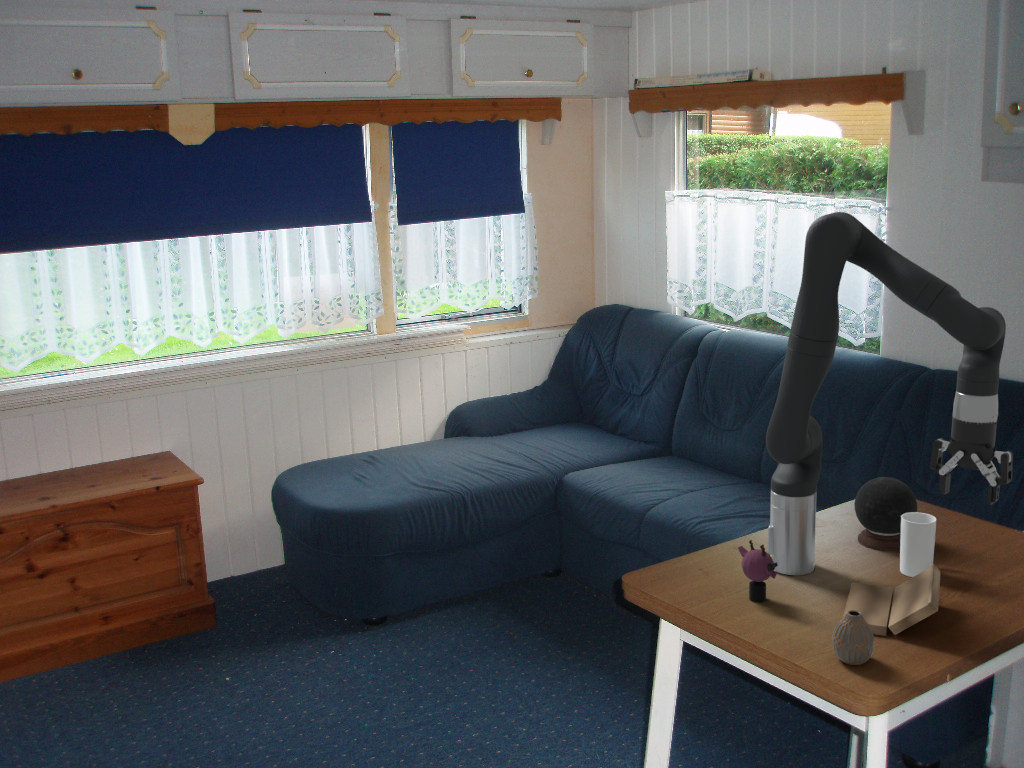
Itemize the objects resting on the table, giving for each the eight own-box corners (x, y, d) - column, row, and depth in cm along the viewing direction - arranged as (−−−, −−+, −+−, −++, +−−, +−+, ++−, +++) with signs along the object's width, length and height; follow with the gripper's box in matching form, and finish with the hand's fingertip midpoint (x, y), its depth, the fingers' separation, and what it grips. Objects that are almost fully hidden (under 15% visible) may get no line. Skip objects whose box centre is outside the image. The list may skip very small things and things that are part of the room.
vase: (880, 668, 169) (882, 620, 167) (841, 671, 169) (842, 623, 167) (863, 648, 176) (865, 603, 174) (825, 651, 175) (826, 605, 173)
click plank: (894, 635, 179) (887, 625, 180) (900, 595, 195) (894, 586, 196) (937, 611, 175) (930, 601, 176) (940, 572, 191) (933, 563, 191)
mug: (923, 581, 202) (926, 526, 199) (892, 572, 207) (895, 518, 204) (946, 567, 208) (949, 513, 206) (915, 558, 213) (918, 506, 211)
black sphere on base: (846, 547, 221) (849, 482, 218) (860, 527, 232) (863, 466, 229) (909, 557, 214) (912, 491, 211) (920, 536, 225) (923, 473, 222)
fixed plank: (841, 629, 183) (842, 620, 183) (851, 590, 199) (852, 582, 199) (886, 635, 180) (886, 626, 180) (892, 595, 196) (893, 587, 196)
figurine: (776, 609, 192) (777, 551, 190) (734, 605, 195) (735, 548, 192) (778, 592, 200) (779, 536, 197) (737, 588, 202) (738, 533, 200)
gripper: (927, 413, 187) (922, 494, 190) (1006, 426, 176) (998, 512, 180) (945, 405, 192) (939, 485, 195) (1023, 418, 181) (1015, 502, 185)
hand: (967, 498), depth 188 cm, fingers open, 8 cm apart
